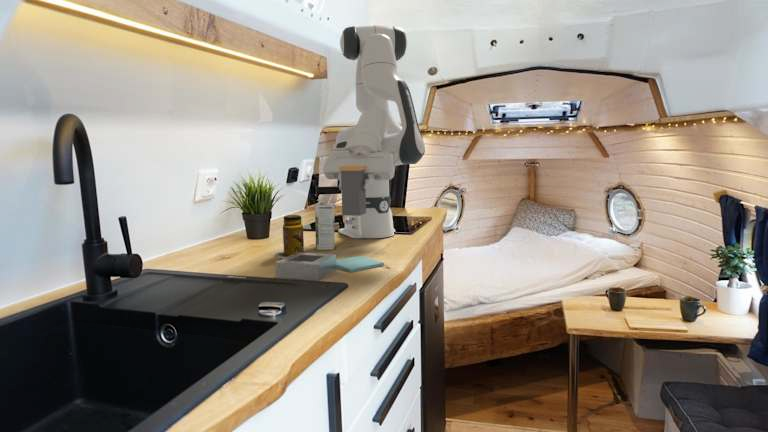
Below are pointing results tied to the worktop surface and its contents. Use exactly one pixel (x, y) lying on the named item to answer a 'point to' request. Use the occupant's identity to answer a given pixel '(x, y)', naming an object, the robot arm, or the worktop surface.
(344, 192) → the grey lidded canister
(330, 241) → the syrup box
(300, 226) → the condiment
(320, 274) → the collar
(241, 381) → the worktop surface
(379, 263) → the mat
